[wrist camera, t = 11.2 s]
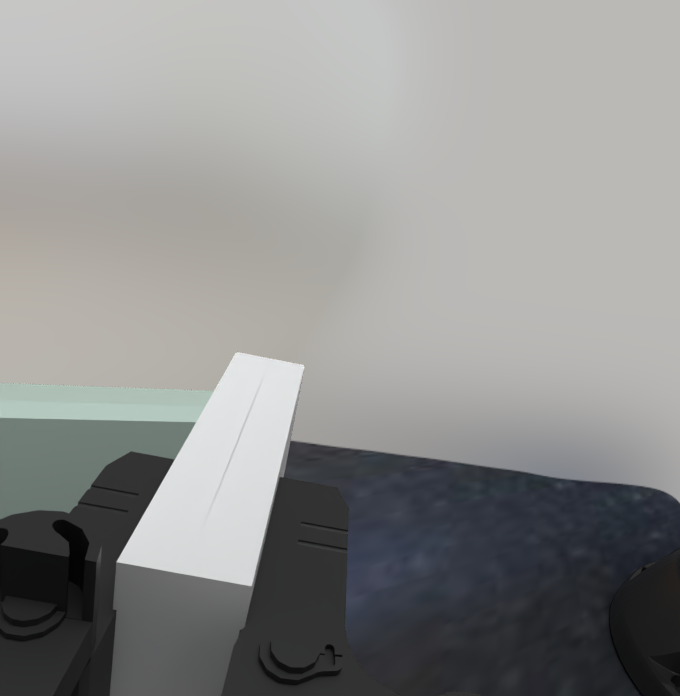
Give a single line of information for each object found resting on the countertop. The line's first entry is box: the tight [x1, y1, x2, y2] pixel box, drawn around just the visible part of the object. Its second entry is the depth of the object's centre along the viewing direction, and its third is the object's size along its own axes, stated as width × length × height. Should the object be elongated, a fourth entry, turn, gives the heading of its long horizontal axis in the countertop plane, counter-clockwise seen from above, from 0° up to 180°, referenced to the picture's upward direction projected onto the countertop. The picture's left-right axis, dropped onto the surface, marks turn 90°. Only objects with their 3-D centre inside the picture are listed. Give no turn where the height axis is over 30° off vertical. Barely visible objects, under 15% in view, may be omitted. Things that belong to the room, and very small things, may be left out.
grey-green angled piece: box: [0, 383, 214, 519], centre depth 36 cm, size 19×14×16 cm
